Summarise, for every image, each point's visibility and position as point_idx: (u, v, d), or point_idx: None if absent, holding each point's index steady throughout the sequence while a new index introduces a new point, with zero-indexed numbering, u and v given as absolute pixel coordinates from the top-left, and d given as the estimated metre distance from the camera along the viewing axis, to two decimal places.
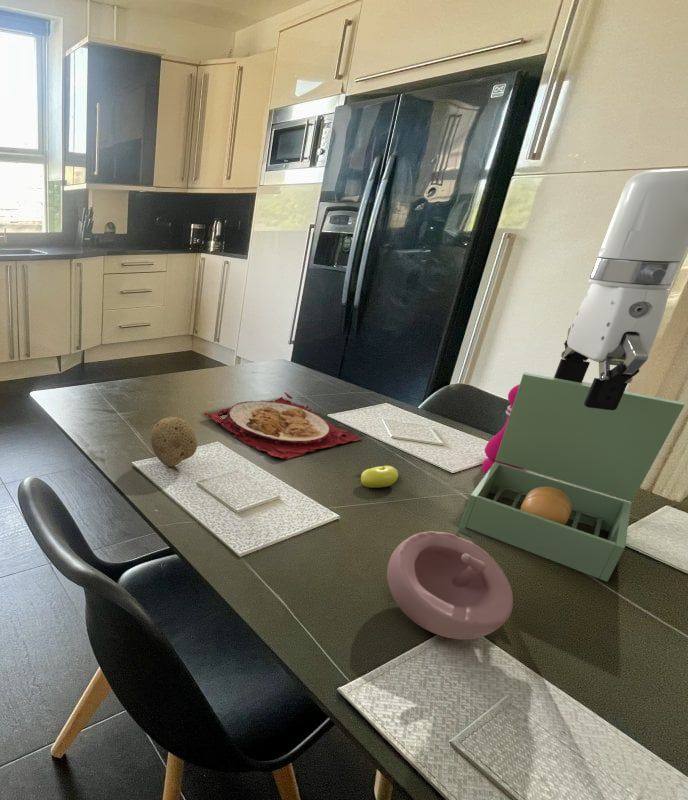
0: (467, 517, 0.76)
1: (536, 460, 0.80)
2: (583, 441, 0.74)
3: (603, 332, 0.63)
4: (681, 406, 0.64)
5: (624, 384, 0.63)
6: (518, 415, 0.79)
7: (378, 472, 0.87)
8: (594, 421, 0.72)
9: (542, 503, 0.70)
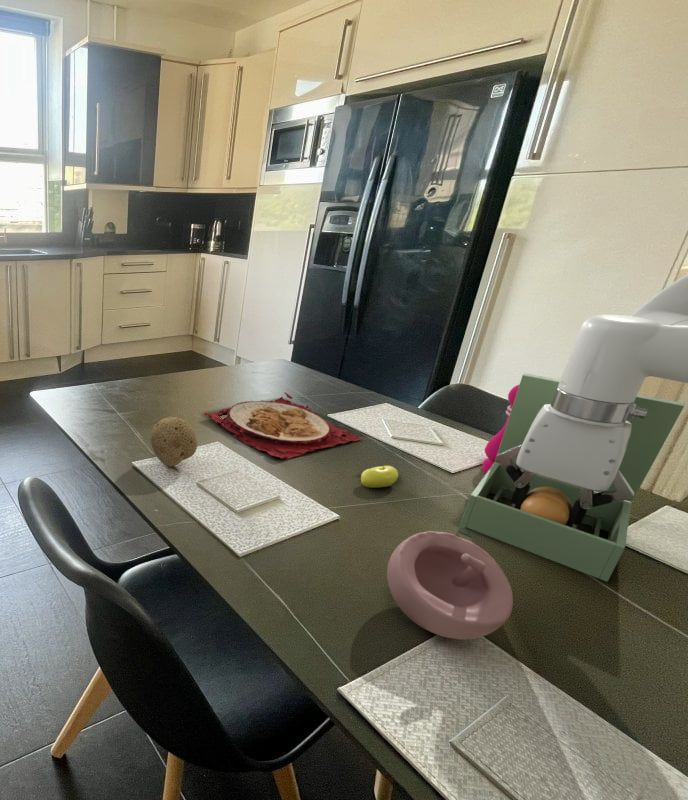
0: (467, 517, 0.76)
1: None
2: None
3: (606, 467, 0.65)
4: (681, 407, 0.64)
5: None
6: (518, 415, 0.78)
7: (378, 472, 0.87)
8: None
9: (542, 503, 0.70)
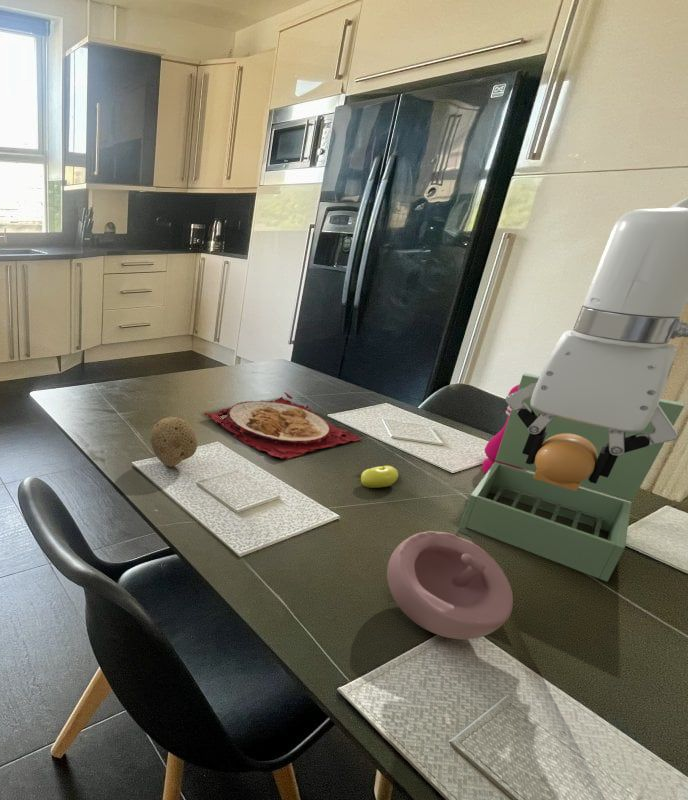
0: (467, 517, 0.76)
1: None
2: None
3: (644, 400, 0.53)
4: (681, 407, 0.64)
5: None
6: None
7: (378, 472, 0.87)
8: None
9: (562, 450, 0.58)
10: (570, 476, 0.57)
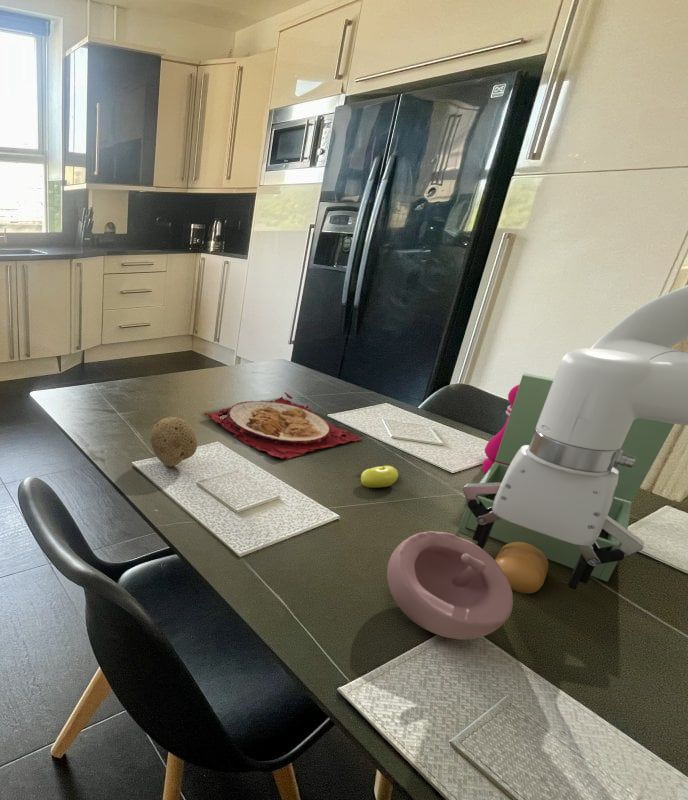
0: (467, 517, 0.76)
1: None
2: None
3: (590, 521, 0.58)
4: None
5: None
6: (518, 415, 0.78)
7: (378, 472, 0.87)
8: None
9: (515, 564, 0.63)
10: (522, 589, 0.62)
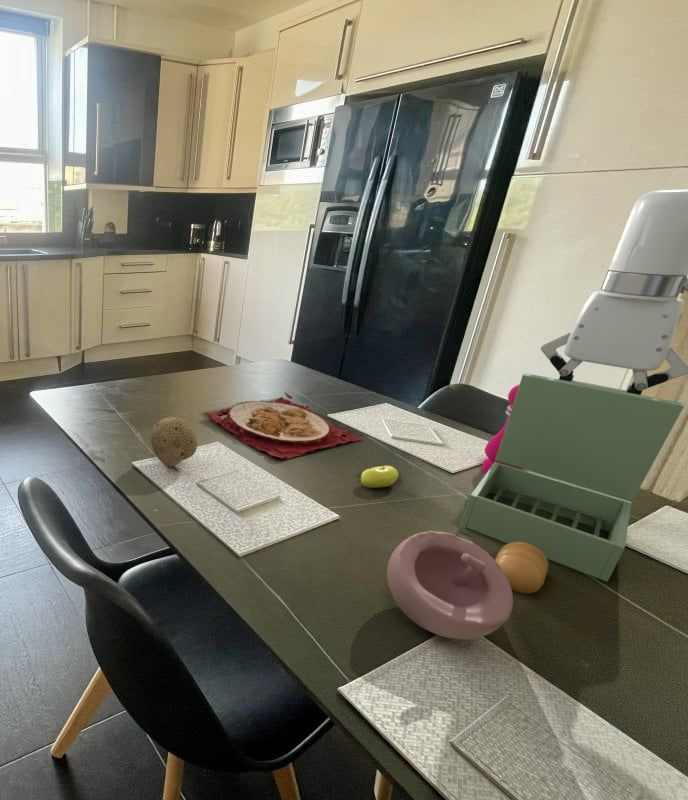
0: (467, 517, 0.76)
1: (536, 460, 0.80)
2: (583, 441, 0.74)
3: (659, 344, 0.66)
4: (681, 407, 0.64)
5: None
6: (518, 415, 0.78)
7: (378, 472, 0.87)
8: (594, 422, 0.72)
9: (515, 564, 0.63)
10: (522, 589, 0.62)
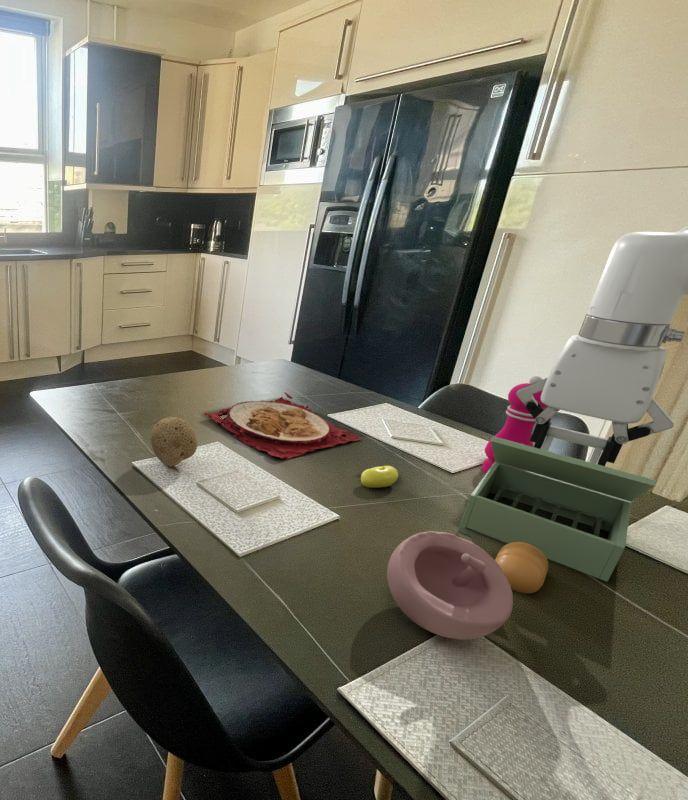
0: (467, 517, 0.76)
1: (532, 469, 0.79)
2: (569, 474, 0.72)
3: (639, 396, 0.61)
4: (652, 485, 0.61)
5: None
6: (500, 452, 0.77)
7: (378, 472, 0.87)
8: (573, 471, 0.69)
9: (515, 564, 0.63)
10: (522, 589, 0.62)
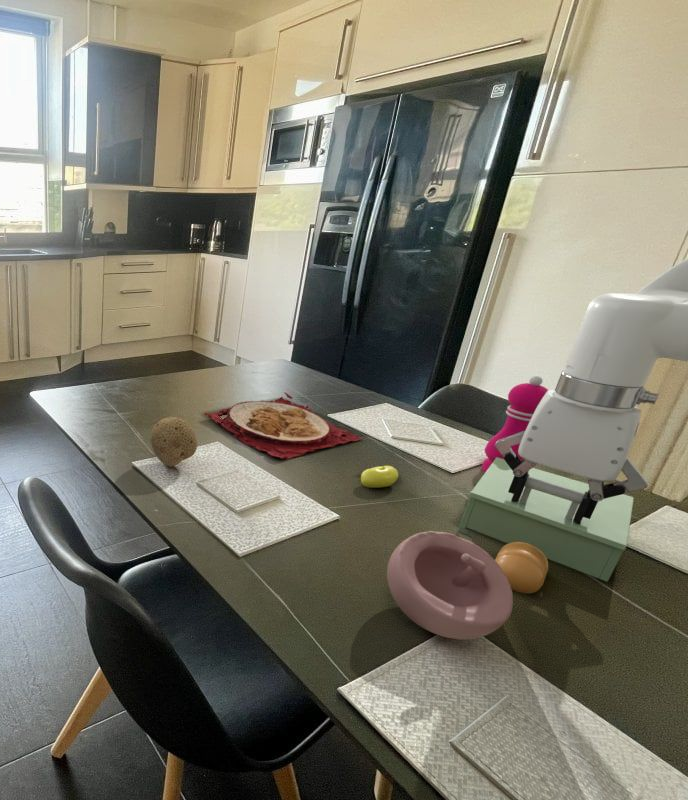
0: (467, 517, 0.76)
1: None
2: None
3: (614, 456, 0.61)
4: None
5: None
6: None
7: (378, 472, 0.87)
8: None
9: (515, 564, 0.63)
10: (522, 589, 0.62)
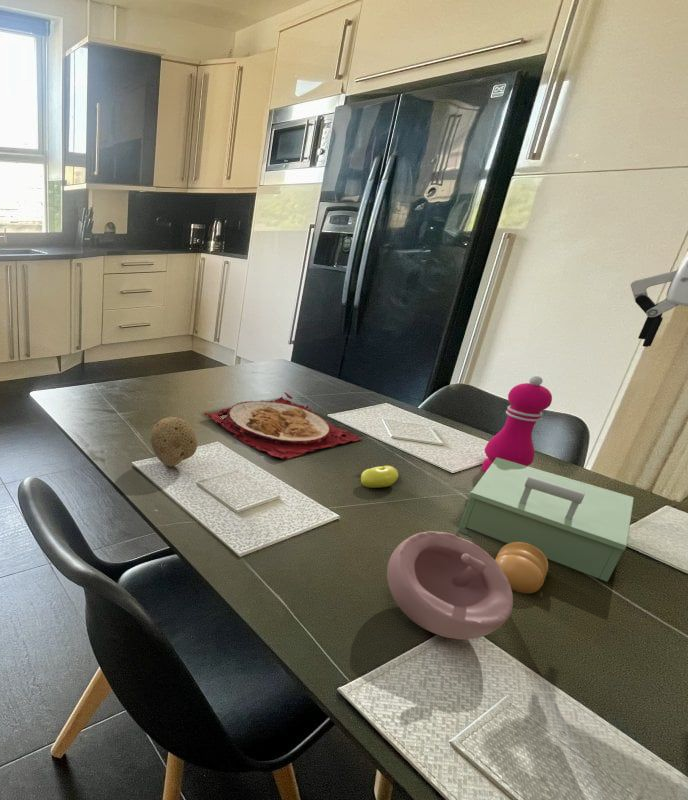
0: (467, 517, 0.76)
1: None
2: None
3: None
4: None
5: None
6: None
7: (378, 472, 0.87)
8: None
9: (515, 564, 0.63)
10: (522, 589, 0.62)
